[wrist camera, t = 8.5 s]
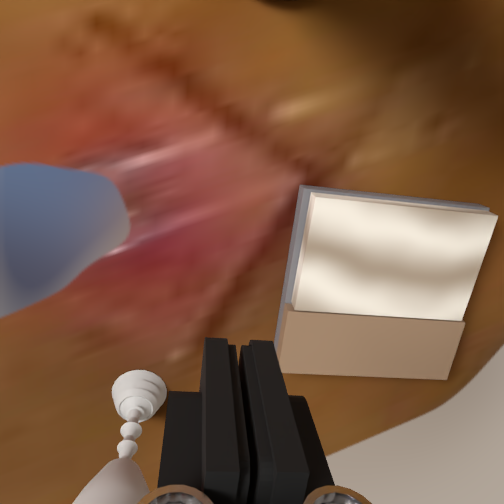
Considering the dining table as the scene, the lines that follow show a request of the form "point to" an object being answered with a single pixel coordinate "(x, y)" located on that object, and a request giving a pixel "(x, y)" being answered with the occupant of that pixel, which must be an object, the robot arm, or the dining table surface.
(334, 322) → the floor sample board
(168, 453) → the robot arm
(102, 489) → the chalice
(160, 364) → the dining table surface
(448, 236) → the pale plank
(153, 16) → the dining table surface
